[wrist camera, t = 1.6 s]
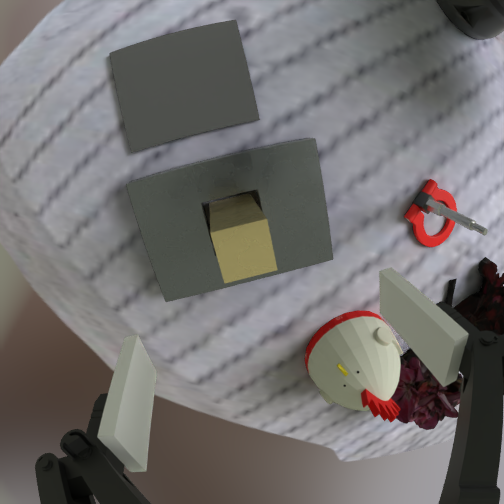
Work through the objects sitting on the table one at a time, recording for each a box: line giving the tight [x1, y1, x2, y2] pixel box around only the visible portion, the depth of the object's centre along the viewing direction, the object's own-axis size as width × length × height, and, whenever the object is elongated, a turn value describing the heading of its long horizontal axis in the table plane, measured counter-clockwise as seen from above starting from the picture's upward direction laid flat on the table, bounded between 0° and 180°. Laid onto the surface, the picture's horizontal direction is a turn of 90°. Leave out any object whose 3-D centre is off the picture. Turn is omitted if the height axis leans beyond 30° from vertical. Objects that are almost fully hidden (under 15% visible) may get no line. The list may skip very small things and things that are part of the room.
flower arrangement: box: [391, 257, 504, 430], centre depth 42 cm, size 31×20×15 cm, turn 140°
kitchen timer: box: [305, 311, 403, 422], centre depth 38 cm, size 14×14×15 cm
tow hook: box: [404, 179, 487, 247], centre depth 33 cm, size 8×13×9 cm
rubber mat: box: [110, 20, 260, 153], centre depth 29 cm, size 14×12×1 cm
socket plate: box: [126, 138, 333, 302], centre depth 34 cm, size 20×14×2 cm
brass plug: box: [209, 193, 277, 283], centre depth 30 cm, size 4×4×11 cm
